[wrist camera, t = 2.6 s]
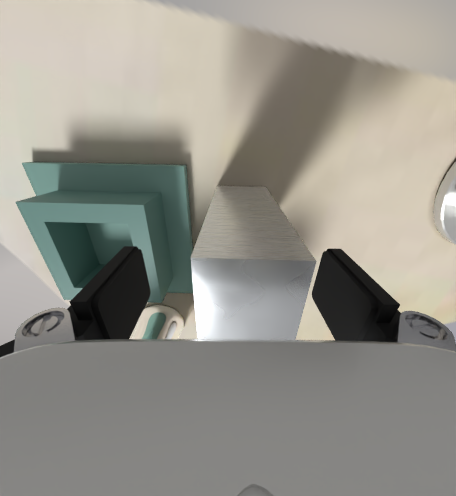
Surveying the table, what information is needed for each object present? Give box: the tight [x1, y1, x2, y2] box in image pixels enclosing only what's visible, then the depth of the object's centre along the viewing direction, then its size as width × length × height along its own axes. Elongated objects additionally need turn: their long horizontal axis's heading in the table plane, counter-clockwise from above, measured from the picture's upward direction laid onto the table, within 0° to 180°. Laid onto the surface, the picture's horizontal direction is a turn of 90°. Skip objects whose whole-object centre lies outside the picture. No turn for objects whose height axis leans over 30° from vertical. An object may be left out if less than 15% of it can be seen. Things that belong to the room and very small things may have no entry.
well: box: [16, 162, 194, 303], centre depth 19 cm, size 14×14×5 cm
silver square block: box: [191, 186, 316, 340], centre depth 14 cm, size 4×4×13 cm
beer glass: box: [131, 305, 184, 339], centre depth 21 cm, size 7×7×15 cm
